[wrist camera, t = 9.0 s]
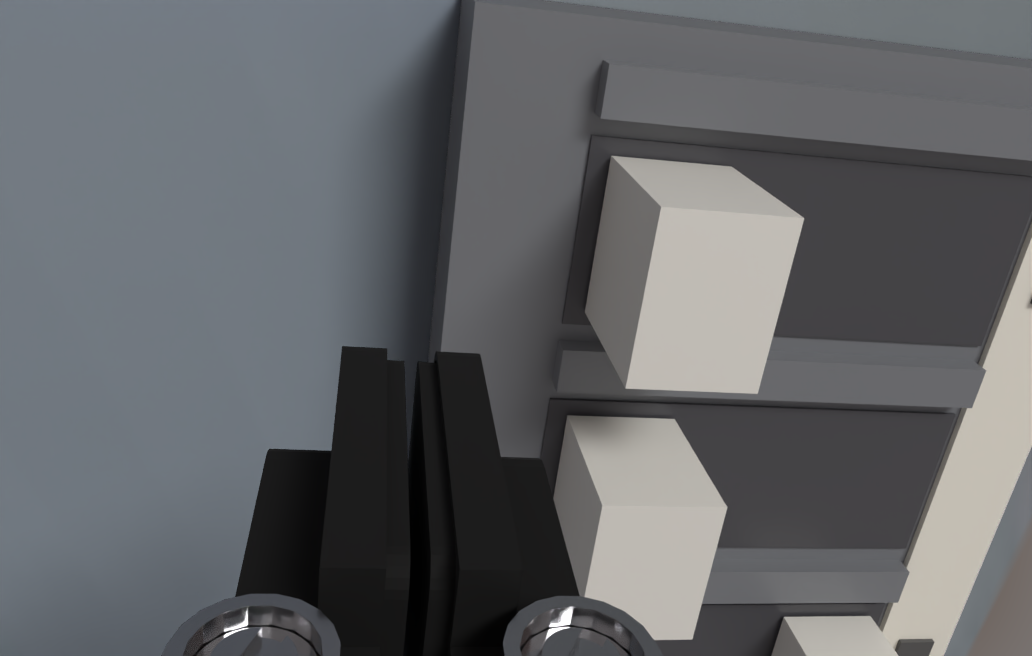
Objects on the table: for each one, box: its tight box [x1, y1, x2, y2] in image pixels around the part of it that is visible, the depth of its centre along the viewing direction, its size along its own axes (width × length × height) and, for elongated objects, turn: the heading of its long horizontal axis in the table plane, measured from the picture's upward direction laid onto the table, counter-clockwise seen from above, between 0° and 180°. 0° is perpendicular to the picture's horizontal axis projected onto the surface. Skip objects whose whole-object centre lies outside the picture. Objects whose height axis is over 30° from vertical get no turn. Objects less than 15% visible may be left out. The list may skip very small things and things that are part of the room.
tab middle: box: [553, 415, 727, 640], centre depth 23 cm, size 4×3×4 cm
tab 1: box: [585, 156, 804, 394], centre depth 20 cm, size 4×3×4 cm
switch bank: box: [428, 0, 1032, 656], centre depth 27 cm, size 24×18×4 cm
